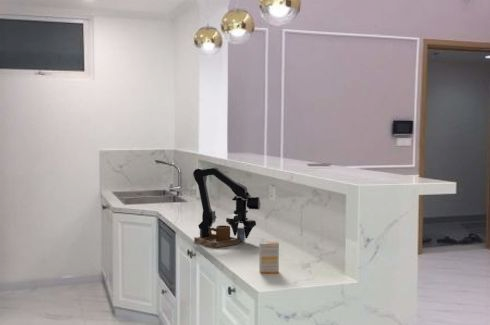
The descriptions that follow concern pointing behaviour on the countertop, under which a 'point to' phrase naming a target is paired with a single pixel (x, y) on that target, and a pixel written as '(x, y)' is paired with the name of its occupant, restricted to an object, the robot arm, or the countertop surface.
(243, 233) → the brown frame with handle
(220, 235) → the mug
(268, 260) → the supplement box
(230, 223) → the robot arm
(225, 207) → the countertop surface
